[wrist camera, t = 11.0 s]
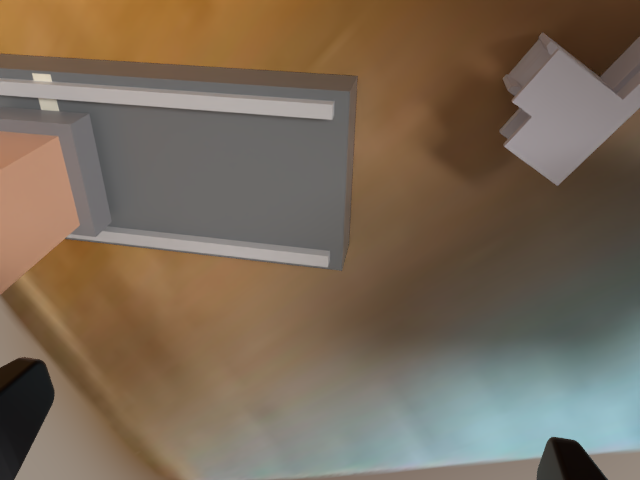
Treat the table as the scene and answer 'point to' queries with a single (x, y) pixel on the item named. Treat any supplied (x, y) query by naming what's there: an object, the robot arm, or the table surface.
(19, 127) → the fader
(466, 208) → the table surface
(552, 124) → the door handle
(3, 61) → the grey slider rail base
